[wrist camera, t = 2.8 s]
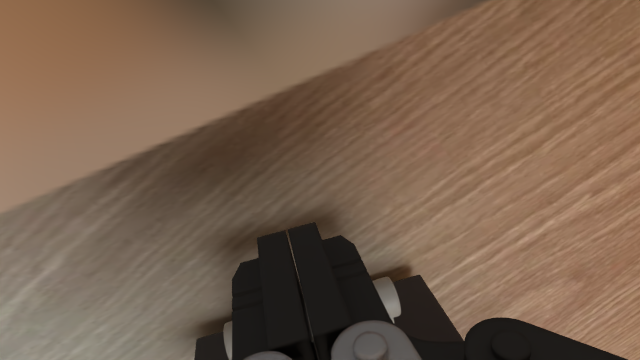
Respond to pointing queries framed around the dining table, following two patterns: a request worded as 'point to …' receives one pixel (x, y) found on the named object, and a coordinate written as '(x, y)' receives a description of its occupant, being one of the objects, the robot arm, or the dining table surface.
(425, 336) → the drawer
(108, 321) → the dining table surface
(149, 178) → the dining table surface
